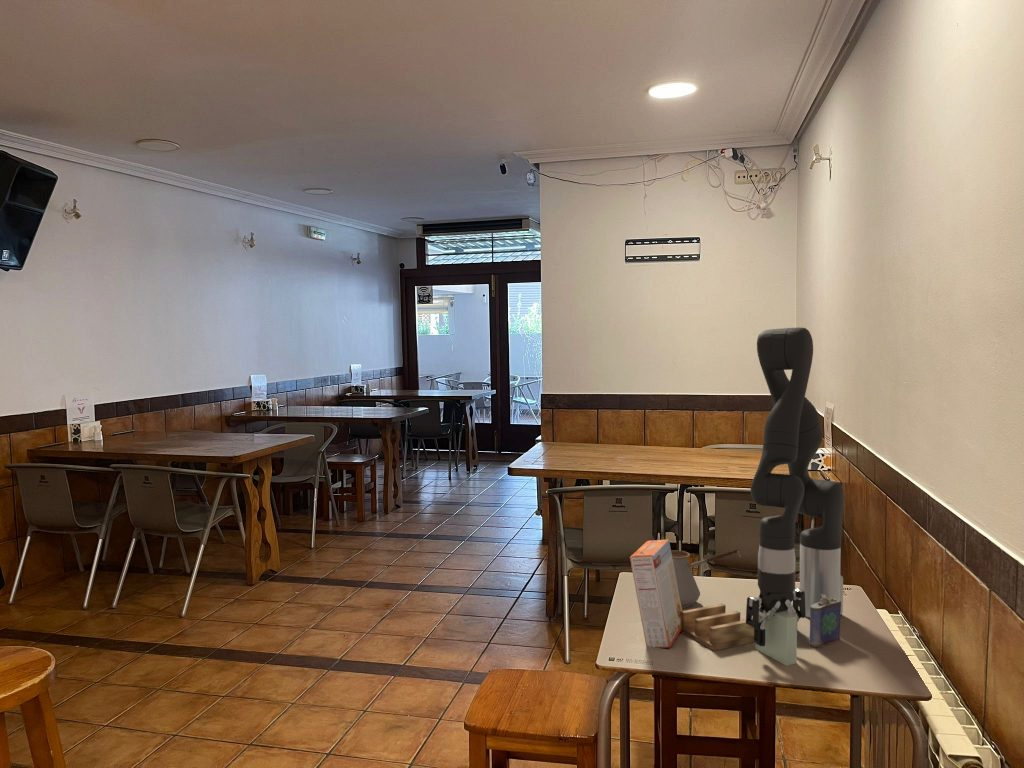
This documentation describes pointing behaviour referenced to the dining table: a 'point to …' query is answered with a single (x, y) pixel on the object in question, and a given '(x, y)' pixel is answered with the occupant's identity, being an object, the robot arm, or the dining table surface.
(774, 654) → the sage green tall prism
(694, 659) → the dining table surface
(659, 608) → the cracker box
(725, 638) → the rack
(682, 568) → the coffee pot
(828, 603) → the flask
